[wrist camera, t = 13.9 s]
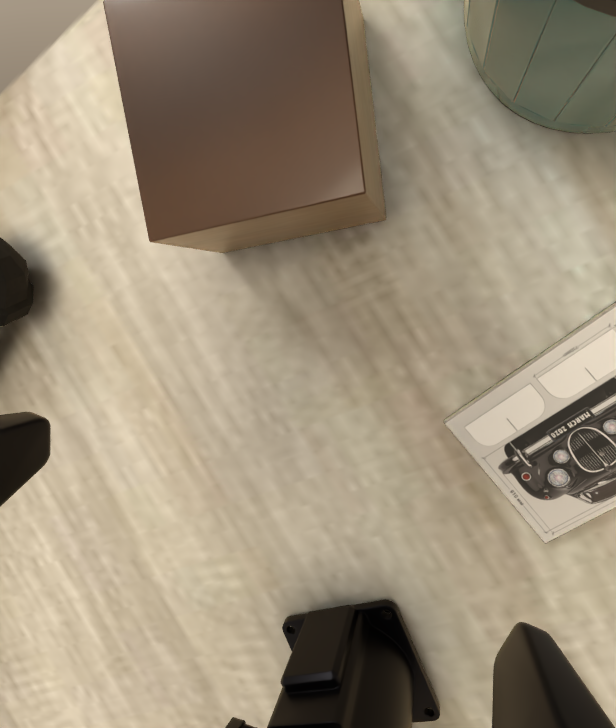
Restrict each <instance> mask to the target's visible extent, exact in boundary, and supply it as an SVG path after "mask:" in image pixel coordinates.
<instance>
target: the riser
mask: <svg viewBox="0 0 616 728" xmlns="http://www.w3.org/2000/svg"><path fill="white" fill-rule="evenodd" d="M103 4H104V9H105V14H106V19H107V24H108V30H109V35H110V40H111V45H112V50H113V55H114V61H115V66H116V71H117V76H118V81H119V86H120V92H121V97H122V102H123V107H124V112H125V117H126V123H127V128H128V133H129V138H130V143H131V148H132V154H133V159H134V164H135V169H136V174H137V179H138V185H139V190H140V195H141V200H142V205H143V210H144V216H145V221H146V226H147V231H148V236H149V241H150V242H154V243H161V244H167V245H174V246H180V247H187V248H193V249H200V250H206V251H213V252H219V253H225V252H230V251H235V250H240V249H245V248H250V247H255V246H260V245H265V244H270V243H275V242H280V241H285V240H289V239H294V238H299V237H304V236H309V235H314V234H319V233H324V232H329V231H334V230H339V229H344V228H349V227H354V226H359V225H364V224H369V223H374V222H379V221H384V220H386V211H385V202H384V194H383V185H382V176H381V167H380V159H379V150H378V141H377V133H376V124H375V115H374V107H373V98H372V89H371V81H370V72H369V63H368V55H367V46H366V37H365V29H364V20H363V14H362V11H361V7H360V3H359V0H104V1H103Z"/></svg>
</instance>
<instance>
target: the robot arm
mask: <svg viewBox="0 0 616 728" xmlns="http://www.w3.org/2000/svg"><path fill="white" fill-rule="evenodd" d="M49 456H50V423H49V421H48V420H47V419H46V418H44V417H42V416H39V415H37V414H35V413H31V412H21V413H13V414H5V415H0V506H1V505H2V504H4V503H5V502H6V501H7V500H8V499H9V498H10V497H11V496H12V495H13V494H14V493H15V492H16V491H17V490H18V489H20V488H21V487H22V486H23V485H24V484H25V483H26V482H27V481H28V480H29V479H30V478H31V477H32V476H33V475H34V474H36V473H37V472H38V471H39V470H40V469H41V468H42V467H43V466H44V465H45V463H46V462H47V460H48V459H49ZM384 610H389V611H390V612H391V613H386V612H385V611H384ZM290 626H292V627H294V628H295V629H294V628H292V627H290ZM282 629H283V632H284V634H285V637H286V639H287V641H288V643H289V646H290V648H291V650H292V653H291V656H290V659H289V661H288V664H287V666H286V669H285V671H284V674H283V676H282V679H281V684H282V687H283V688H282V690H281V693H280V695H279V698H278V701H277V703H276V706H275V708H274V711H273V714H272V716H271V719H270V721H269V724H268V727H267V728H412V722H425V721H435V720H437V719H438V718H439V716H440V706H439V703H438V700H437V698H436V696H435V693H434V691H433V689H432V687H431V684H430V682H429V680H428V677H427V675H426V673H425V670H424V668H423V666H422V663H421V661H420V659H419V656H418V654H417V652H416V649H415V647H414V645H413V642H412V640H411V638H410V635H409V633H408V631H407V628H406V626H405V624H404V622H403V619H402V617H401V615H400V612H399V610H398V608H397V606H396V604H395V603H394V602H392V601H390V600H379V601H373V602H368V603H362V604H356V605H346V606H341V607H335V608H329V609H324V610H318V611H313V612H309V613H305V614H300V615H294V616H289V617H287V618H286V619H285V622H284V624H283V627H282ZM428 708H431V709H428ZM225 728H256V727H253V726H250V725H247V724H246V723H245V721H244V720H240V719H237V718H234V717H233V718H232V719H231V720H230V722H229V723H228V725H227V726H226V727H225ZM492 728H615V727H614V725H613V724H612V722H611V721H610V720H609V718H608V717H607V715H606V714H605V712H604V711H603V710H602V708H601V707H600V705H599V704H598V703H597V701H596V700H595V698H594V697H593V695H592V694H591V693H590V691H589V690H588V688H587V687H586V685H585V684H584V683H583V681H582V680H581V678H580V677H579V675H578V674H577V673H576V671H575V670H574V668H573V667H572V665H571V664H570V663H569V661H568V660H567V658H566V657H565V656H564V654H563V653H562V651H561V650H560V648H559V647H558V646H557V644H556V643H555V641H554V640H553V638H552V637H551V636H550V635H549V634H548V633H547V632H545V631H543V630H541V629H539V628H536V627H534V626H532V625H529V624H527V623H524V622H519V623H517V624H516V625H515V626H514V628H513V629H512V631H511V633H510V634H509V636H508V637H507V639H506V641H505V642H504V644H503V645H502V647H501V649H500V650H499V652H498V654H497V656H496V659H495V663H494V673H493V717H492Z"/></svg>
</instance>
